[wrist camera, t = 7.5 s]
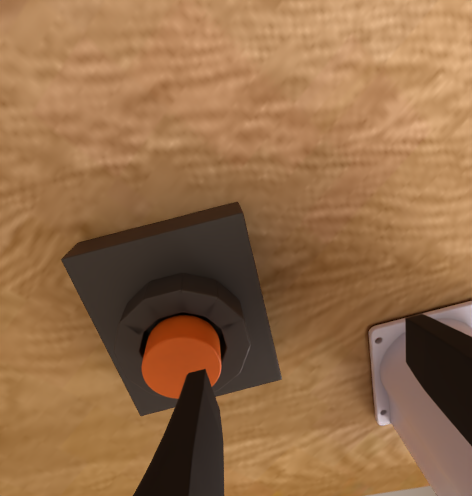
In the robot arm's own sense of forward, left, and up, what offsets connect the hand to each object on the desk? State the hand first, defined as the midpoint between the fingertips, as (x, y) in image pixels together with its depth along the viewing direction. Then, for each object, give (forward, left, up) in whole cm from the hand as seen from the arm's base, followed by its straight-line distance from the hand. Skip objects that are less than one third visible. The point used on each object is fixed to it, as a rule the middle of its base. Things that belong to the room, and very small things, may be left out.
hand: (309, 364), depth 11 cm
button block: (-1, +5, -8) cm, 10 cm away
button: (-1, +5, -5) cm, 7 cm away
